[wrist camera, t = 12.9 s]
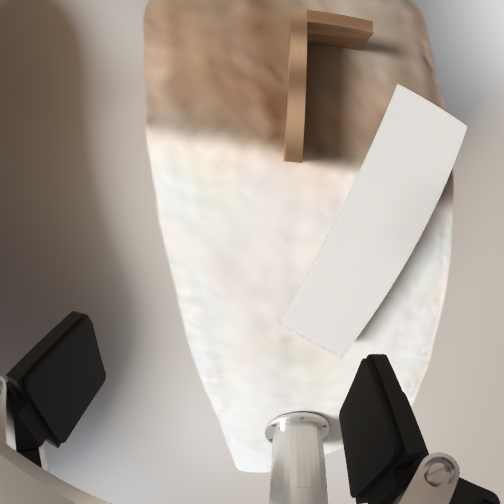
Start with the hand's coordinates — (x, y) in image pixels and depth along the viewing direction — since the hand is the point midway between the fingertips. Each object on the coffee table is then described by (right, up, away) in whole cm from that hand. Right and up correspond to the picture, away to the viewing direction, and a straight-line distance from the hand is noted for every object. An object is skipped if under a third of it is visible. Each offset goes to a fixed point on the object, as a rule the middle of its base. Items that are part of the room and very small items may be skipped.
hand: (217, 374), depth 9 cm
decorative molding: (+16, +8, +25) cm, 31 cm away
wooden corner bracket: (+10, +22, +20) cm, 31 cm away
